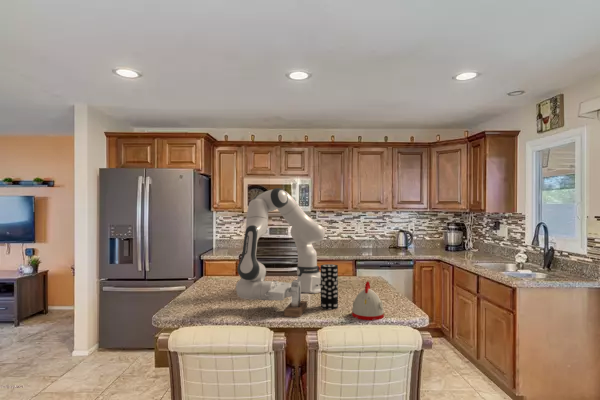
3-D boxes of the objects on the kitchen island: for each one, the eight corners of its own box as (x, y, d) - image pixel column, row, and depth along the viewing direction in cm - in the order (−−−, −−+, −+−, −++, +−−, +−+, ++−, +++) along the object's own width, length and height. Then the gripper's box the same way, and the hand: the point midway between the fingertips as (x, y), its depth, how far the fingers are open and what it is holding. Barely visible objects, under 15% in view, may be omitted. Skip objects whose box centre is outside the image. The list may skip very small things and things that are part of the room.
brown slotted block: (293, 306, 176) (292, 300, 176) (307, 307, 174) (307, 301, 174) (284, 316, 160) (284, 309, 160) (299, 317, 158) (299, 310, 158)
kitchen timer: (349, 318, 157) (348, 283, 157) (355, 309, 170) (355, 277, 170) (381, 321, 152) (381, 286, 152) (385, 312, 165) (385, 279, 165)
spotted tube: (320, 304, 178) (320, 264, 179) (337, 304, 178) (337, 264, 179) (321, 309, 170) (320, 266, 171) (338, 309, 170) (338, 267, 170)
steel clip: (294, 307, 170) (294, 279, 171) (300, 307, 170) (300, 279, 170) (291, 311, 164) (291, 282, 164) (297, 311, 163) (297, 282, 164)
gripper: (262, 288, 160) (292, 290, 157) (275, 279, 180) (302, 280, 177) (262, 303, 160) (292, 304, 157) (275, 292, 180) (302, 293, 177)
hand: (298, 292), depth 167 cm, fingers closed on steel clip, 6 cm apart
